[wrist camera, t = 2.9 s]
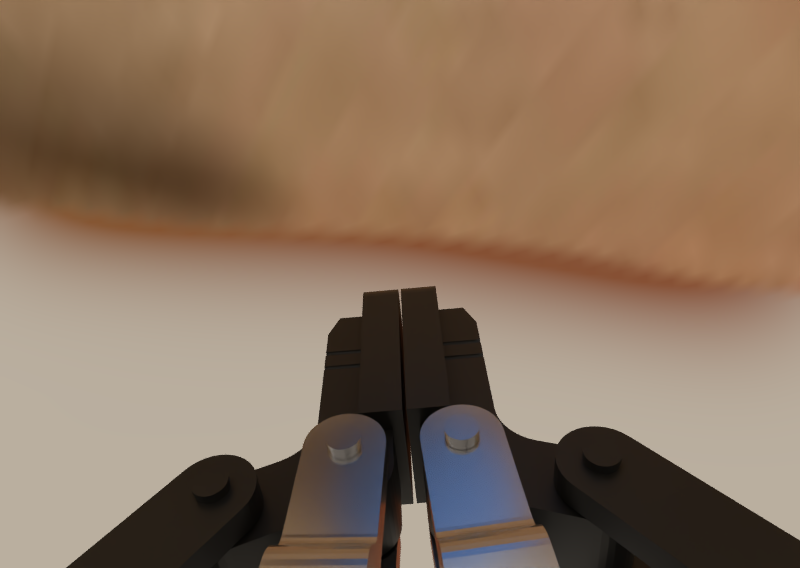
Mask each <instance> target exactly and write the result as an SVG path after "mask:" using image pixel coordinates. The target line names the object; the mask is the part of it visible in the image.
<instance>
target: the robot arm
mask: <svg viewBox="0 0 800 568" xmlns="http://www.w3.org/2000/svg"><path fill="white" fill-rule="evenodd" d="M401 301H402V318H401V309H400V300H399V292H398V290H387V291H376V292H364V294H363V311H362V317H352V318H341V319H340V320H339V321H338V322H337V324H336V325H335V327H334V328H333V329H332V331H331V332H330V333H329V335H328V344H327V351H326V353H327V356H326V360H325V370H324V377H323V385H322V394H321V402H320V411H319V420H318V425H316V426H315V427H314V428H313V429H312V430H311V431H310V432H309V434H308V435H307V437H306V439H305V441H304V444H303V448H302V449H301V450H300V451H298V452H297V453H296V454H294V455H292V456H291V457H289V458H287V459H284V460H282V461H279V462H276V463H274V464H271V465H268V466H265V467H262V468H259V469H256V470H254V467H253V466H252V465H251V464H250V463H249V462H248V461H246V460H245V459H243V458H241V457H238V456H234V455H218V456H212V457H209V458H206V459H203V460H201V461H199V462H197V463H195V464H193V465H192V466H190V467H189V468H187V469H186V470H185V471H184V472H182V473H181V474H180V475H179V476H177V477H176V478H175V479H174V480H172V481H171V482H170V483H169V484H168V485H166V486H165V487H164V488H163V489H162V490H160V491H159V492H158V493H157V494H156V495H154V496H153V497H152V498H151V499H150V500H148V501H147V502H146V503H144V504H143V505H142V506H141V507H140V508H138V509H137V510H136V511H135V512H134V513H132V514H131V515H130V516H129V517H127V518H126V519H125V520H124V521H123V522H121V523H120V524H119V525H118V526H117V527H115V528H114V529H113V530H112V531H111V532H109V533H108V534H107V535H106V536H104V537H103V538H102V539H101V540H100V541H98V542H97V543H96V544H95V545H94V546H92V547H91V548H90V549H88V550H87V551H86V552H85V553H84V554H82V555H81V556H80V557H79V558H77V559H76V560H75V561H74V562H73V563H71V564H70V565H69V566H68V567H67V568H400V554H401V541H400V534H401V530H402V511H401V505H402V504H413V486H412V466H411V455H412V463H413V472H414V481H415V489H416V498H417V503H425V502H426V503H427V512H428V522H429V531H430V542H431V549H432V555H433V561H434V568H800V540H798V539H796V538H795V537H793V536H792V535H790V534H788V533H787V532H785V531H783V530H782V529H780V528H778V527H777V526H775V525H774V524H772V523H770V522H769V521H767V520H765V519H763V518H762V517H760V516H759V515H757V514H755V513H754V512H752V511H750V510H749V509H747V508H746V507H744V506H742V505H741V504H739V503H737V502H735V501H734V500H733V499H731V498H729V497H728V496H726V495H724V494H723V493H721V492H719V491H717V490H716V489H714V488H713V487H711V486H709V485H708V484H706V483H705V482H703V481H701V480H700V479H698V478H696V477H695V476H693V475H691V474H690V473H688V472H686V471H685V470H683V469H682V468H680V467H678V466H677V465H675V464H673V463H672V462H670V461H668V460H667V459H665V458H663V457H662V456H660V455H659V454H657V453H655V452H654V451H652V450H650V449H649V448H647V447H646V446H644V445H642V444H641V443H639V442H637V441H636V440H634V439H632V438H631V437H629V436H627V435H625V434H623V433H622V432H619V431H617V430H614V429H610V428H606V427H583V428H579V429H576V430H574V431H571V432H570V433H568V434H567V435H565V436H564V437H563V438H562V439H561V440H560V442H559V443H558V444H553V443H548V442H542V441H536V440H532V439H528V438H525V437H523V436H520V435H518V434H516V433H514V432H513V431H511V430H510V429H508V428H507V427H506V426H505V425H504V424H503V423H502V422H501V421H500V420H499V418H498V416H497V414H496V412H495V409H494V404H493V400H492V395H491V390H490V386H489V381H488V376H487V371H486V366H485V361H484V357H483V352H482V347H481V343H480V338H479V333H478V328H477V323H476V321H475V320H474V319H473V318H472V317H471V316H470V315H469V314H468V313H467V312H466V311H465V309H464V308H455V309H443V310H438V302H437V295H436V288H435V286H432V287H420V288H408V289H401ZM402 324H403V327H402Z"/></svg>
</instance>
